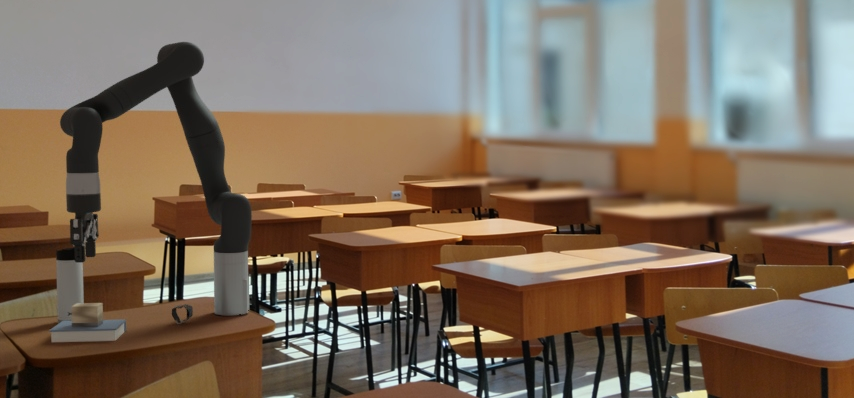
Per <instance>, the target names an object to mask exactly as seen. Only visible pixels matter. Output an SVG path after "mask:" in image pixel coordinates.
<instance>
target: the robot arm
mask: <svg viewBox="0 0 854 398" xmlns="http://www.w3.org/2000/svg"><path fill="white" fill-rule="evenodd" d="M156 61H157V62H156V63H155V64H153V65H151V66H150V67H148V68H146V69H144V70H142V71H140V72H137V73H135V74H132V75H130V76H128V77H126V78H123V79H121V80H120V81H117V82H116V83H114V84H111V86H109V87H107V88H105V89H104V90H102V91H101V92H99V93H98V94H97V95H95V96H92V97H91V98H88V99H86V100H83V101H82V102H79V103H77V104H74V105H73V106H71V107H70V108H68V109H66V110H65V111H64V112H63V113H62V115H61V116H60V119H59V120H60V121H59V124H60V125H59V126H60V129H61V130H62V132H63V133H64V134H65V135H67V136H69V137H72V144H71V147H70V148H69V149H68V150H67V152H66V156H65V157H66V159H65V161H66V163H65V164H66V165H65V167H66V168H65V169H66V177H65V197H66V198H65V199H66V201H65V203H66V211H67V213H71V214H75V215H74V218H70V220H69V231H70V233H69V237H70V238H69V241H70V242H69V243H70V244H69V245H72V246H73V248H74V252H75V262H77V263H80V262H83V263H85V262H86V260H87V259H86V258H94V257H96V255H97V253H96V249H97V247H96V242H97V239H98V238H99V236H100V235H99V234H100V233H99V219H98V217H99V215H98V212H101V210H102V203H101V202H102V201H101V200H102V199H101V197H102V196H101V194H102V193H101V179H100V173H99V172H100V170H99V166H100V165H99V152H100V148H101V143H102V137H103V123H105V122H107V121H112V120H115V119H117V118H119V117H121V116H123V115H124V114H126V113H127V112H128V111H130V110H132V109H133V108H135V107H136V106H139V105H140V104H141V103H142V102H144V101H145V100H147V99H149V98H150V97H152V96H154V95H156V94H158V93H159V92H161V91H162V90H164V89H166V88H167V90H168V92H169V94H170V97H171V99H172V101H173V104H174V107H175V110H176V114H177V115H178V119H179V121H180V124H181V127H182V131H183V134H184V136H185V141H186V143H187V146H188V148H189V152H190V154H191V156H192V158H193V162H194V165H195V168H196V171H197V174H198V178H199V180H200V184H201V187H202V192H203V197H204V200H205V205H206V209H207V213H208V216H209V217H210V219H211V221H213V222H214V224H217V225H218V226H220V235H219V238H217V239H216V240H214V243H213V294H214V295H213V300H214V302H213V304H214V305H213V307H214V308H213V310H214V314H215V315H218V316H240V315H239V314H241V315H246V314H245V313H249V312H250V276H249V244H250V242H251V238H252V222H253V221H252V219H253V215H252V212H253V211H252V206H251V202H250V200H249V198H247V197H246V196H245V195H243V194H241V193H240V194H239V193H235V192H234V193H232V191H231V189H230V187H229V184H228V181H227V178H226V175H225V156H226V154H225V153H226V152H225V151H226V149H225V148H226V147H225V141H224V137H223V133H222V131H221V128H220V125H219V122H218V120H217V119H216V117H215V115H214V114H213V112H212V111H211V110H210V108H209V107H208V106H207V104H206V103H205V102H204V101H203V99H202V98H201V97H200V95H199V93H198V91H197V89H196V86H195V83H194V79H193V77H194V76H196V75H198V74H199V73H200V71H202V69H203V68H204V67H203V66H204V63H205V56H204V53H203V51H202V49H201V48H200V47H199V46H198V45H197V44H195V43H193V42H190V41H179V42H175V43H168V44H166V45H163V46H162V47H161V48H160V49H159V51H158V53H157V56H156ZM248 310H249V311H248Z"/></svg>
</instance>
